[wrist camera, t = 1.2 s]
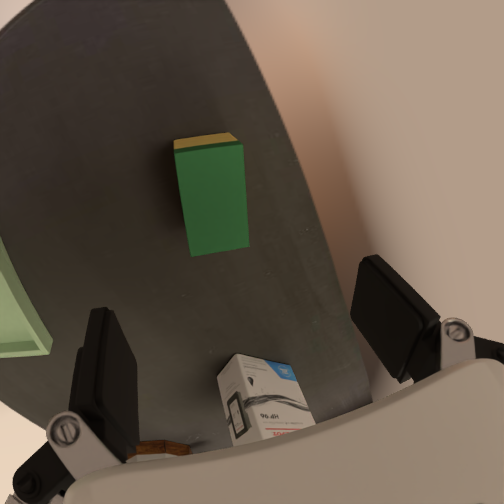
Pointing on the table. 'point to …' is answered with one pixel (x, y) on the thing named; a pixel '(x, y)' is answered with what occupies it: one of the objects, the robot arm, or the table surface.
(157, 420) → the table surface
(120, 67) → the table surface
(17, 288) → the tray
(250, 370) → the ink box
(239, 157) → the sponge
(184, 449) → the mug
